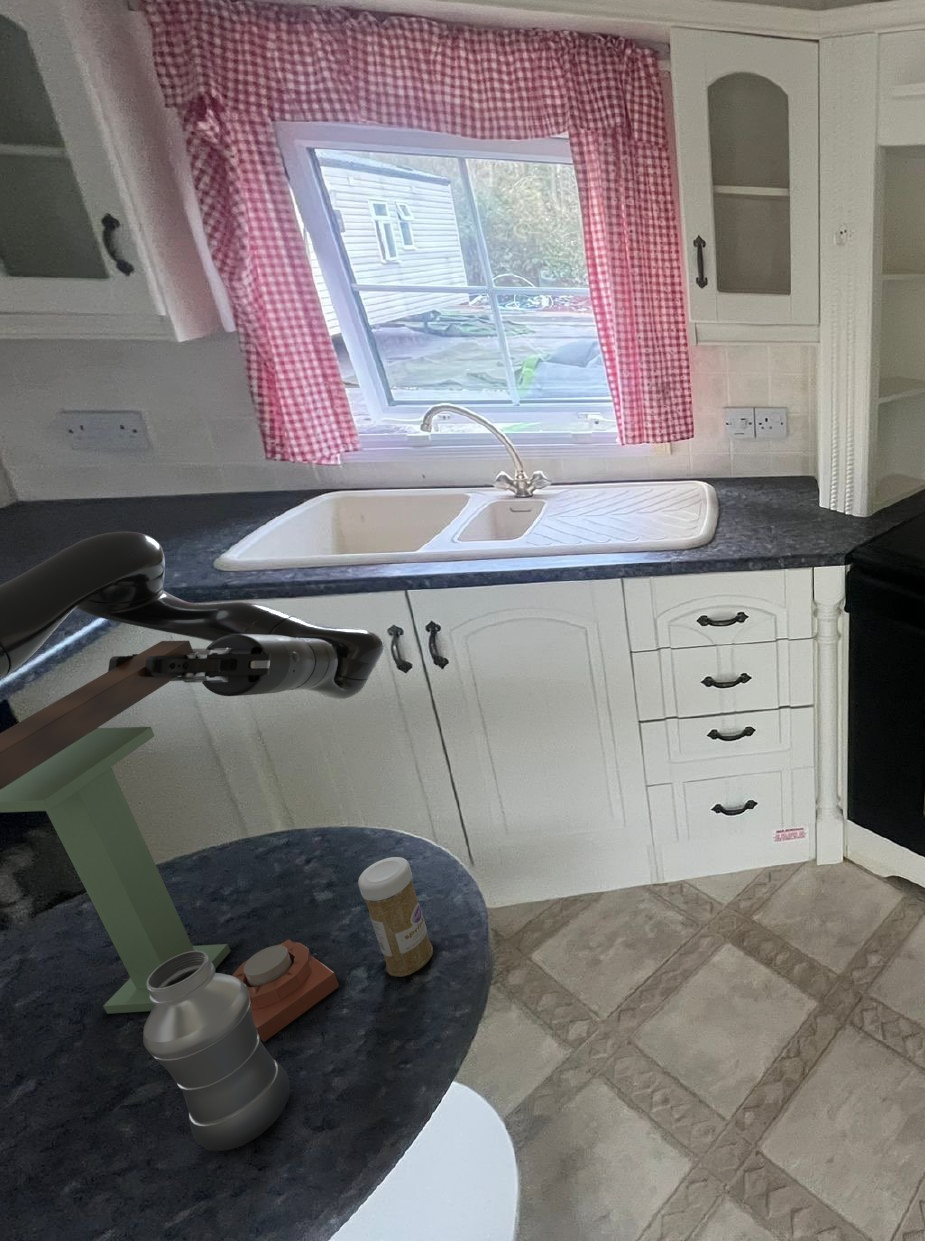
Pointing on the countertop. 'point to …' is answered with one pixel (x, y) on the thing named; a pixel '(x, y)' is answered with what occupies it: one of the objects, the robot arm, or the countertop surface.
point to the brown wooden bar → (80, 712)
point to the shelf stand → (109, 855)
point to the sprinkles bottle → (396, 915)
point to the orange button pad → (289, 991)
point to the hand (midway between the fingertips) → (131, 666)
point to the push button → (267, 965)
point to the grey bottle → (213, 1051)
